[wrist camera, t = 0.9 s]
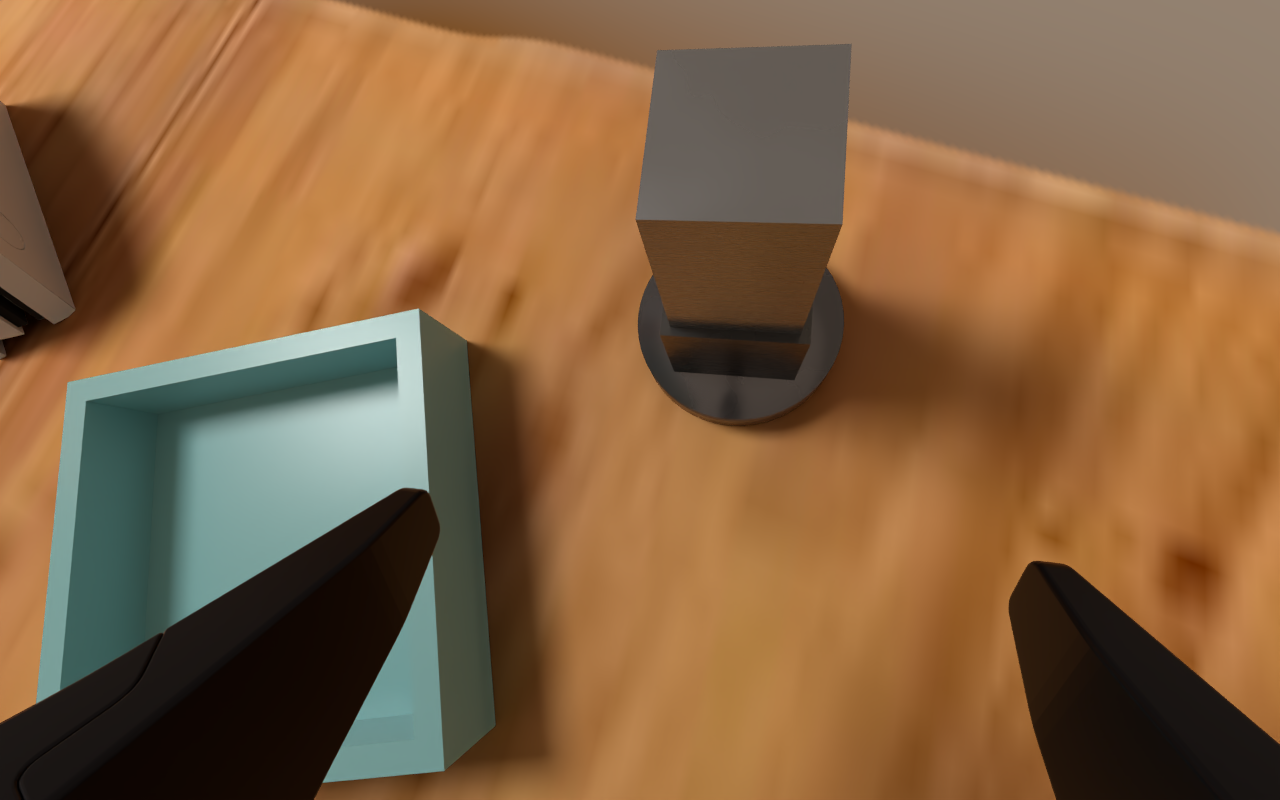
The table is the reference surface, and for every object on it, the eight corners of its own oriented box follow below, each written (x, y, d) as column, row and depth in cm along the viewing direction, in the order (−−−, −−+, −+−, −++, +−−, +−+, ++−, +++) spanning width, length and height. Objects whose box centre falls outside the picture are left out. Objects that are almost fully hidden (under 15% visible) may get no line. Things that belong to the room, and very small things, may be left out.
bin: (495, 725, 22) (444, 771, 18) (141, 763, 24) (25, 811, 20) (466, 340, 25) (418, 308, 21) (161, 401, 27) (67, 382, 23)
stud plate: (857, 407, 22) (890, 377, 17) (658, 440, 23) (639, 420, 18) (813, 227, 24) (833, 156, 19) (631, 264, 25) (608, 206, 20)
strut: (794, 380, 21) (858, 239, 10) (674, 371, 22) (619, 232, 11) (801, 267, 22) (867, 30, 11) (685, 263, 23) (645, 39, 12)
